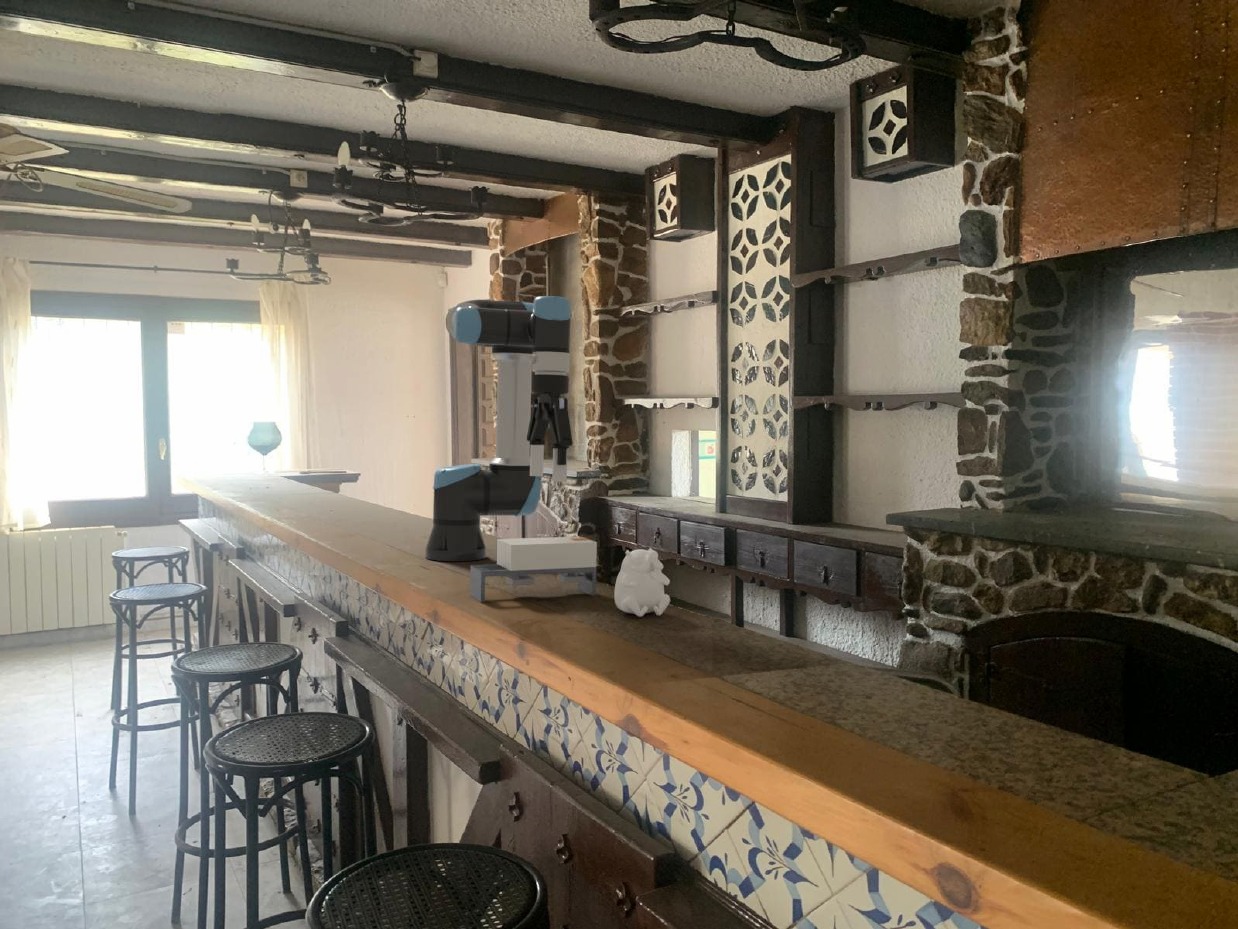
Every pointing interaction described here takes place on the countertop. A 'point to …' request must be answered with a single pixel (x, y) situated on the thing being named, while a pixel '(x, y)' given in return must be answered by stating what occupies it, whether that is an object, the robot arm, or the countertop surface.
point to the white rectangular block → (546, 556)
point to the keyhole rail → (489, 570)
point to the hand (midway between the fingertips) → (547, 478)
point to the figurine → (641, 584)
